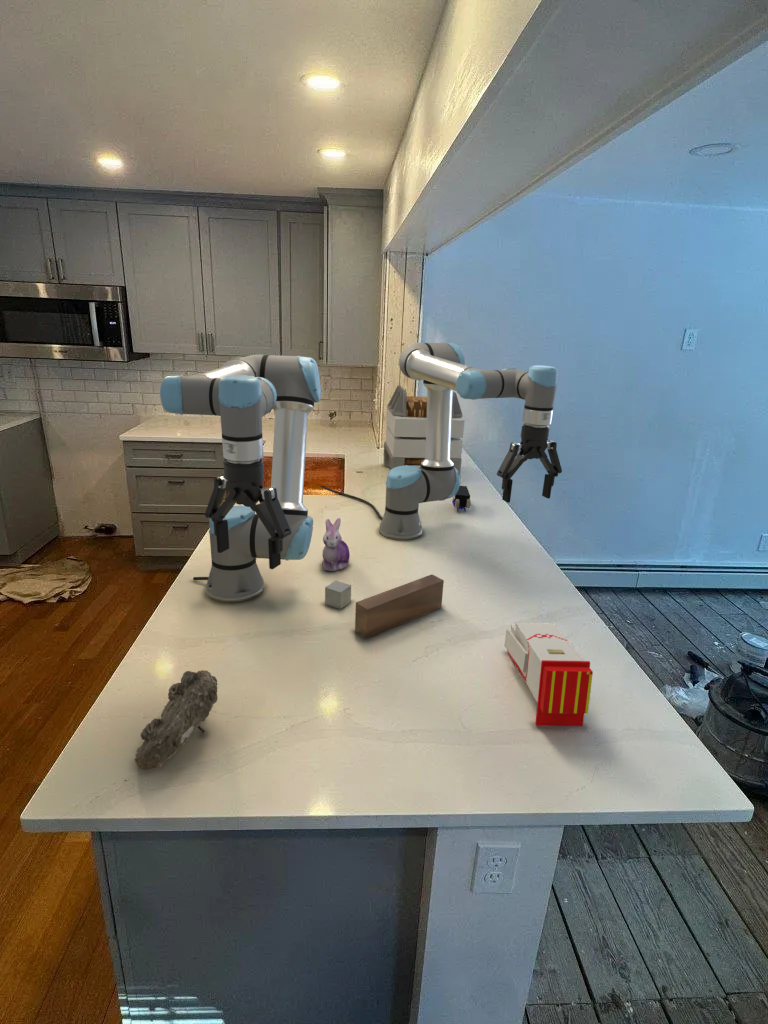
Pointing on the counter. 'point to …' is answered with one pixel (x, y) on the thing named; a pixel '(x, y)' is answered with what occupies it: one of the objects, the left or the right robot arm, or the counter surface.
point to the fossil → (178, 718)
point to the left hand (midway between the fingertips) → (248, 558)
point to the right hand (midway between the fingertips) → (526, 499)
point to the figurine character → (462, 498)
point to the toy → (551, 672)
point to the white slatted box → (416, 431)
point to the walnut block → (398, 605)
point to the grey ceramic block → (337, 594)
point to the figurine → (334, 548)
